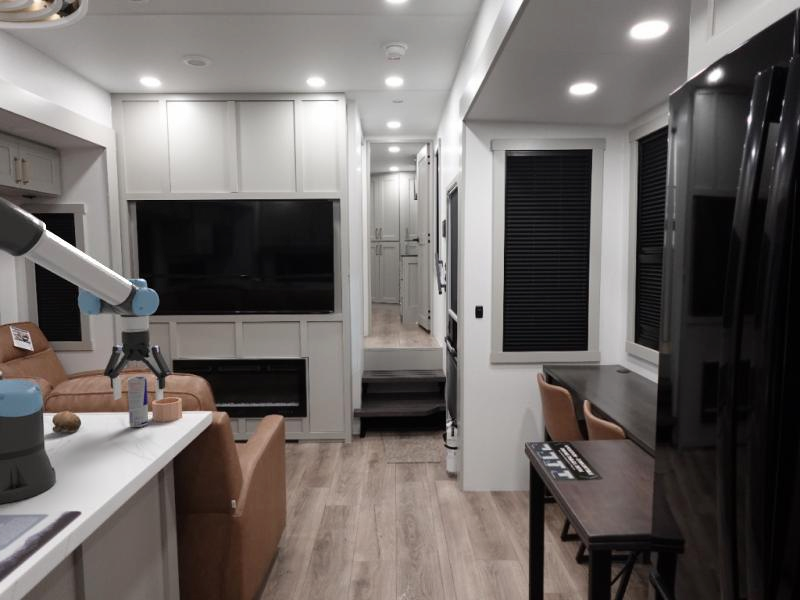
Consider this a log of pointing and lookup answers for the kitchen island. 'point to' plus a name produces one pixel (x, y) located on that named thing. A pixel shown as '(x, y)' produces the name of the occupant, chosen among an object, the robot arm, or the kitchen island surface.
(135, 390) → the beverage can
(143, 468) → the kitchen island surface
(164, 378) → the robot arm
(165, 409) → the light orange hollow cylinder
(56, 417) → the mushroom
